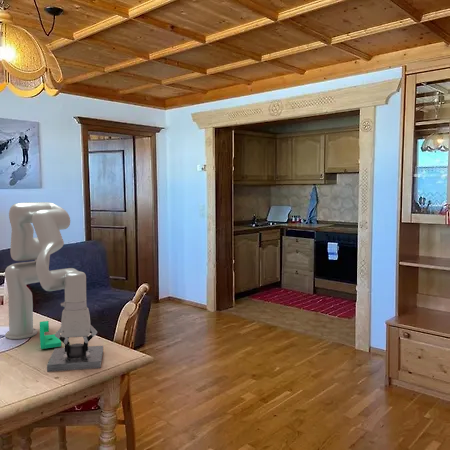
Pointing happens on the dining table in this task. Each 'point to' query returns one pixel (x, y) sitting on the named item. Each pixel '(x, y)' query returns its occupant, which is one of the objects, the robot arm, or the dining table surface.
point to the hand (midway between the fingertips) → (76, 352)
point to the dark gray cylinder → (76, 350)
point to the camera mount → (47, 337)
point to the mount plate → (75, 360)
